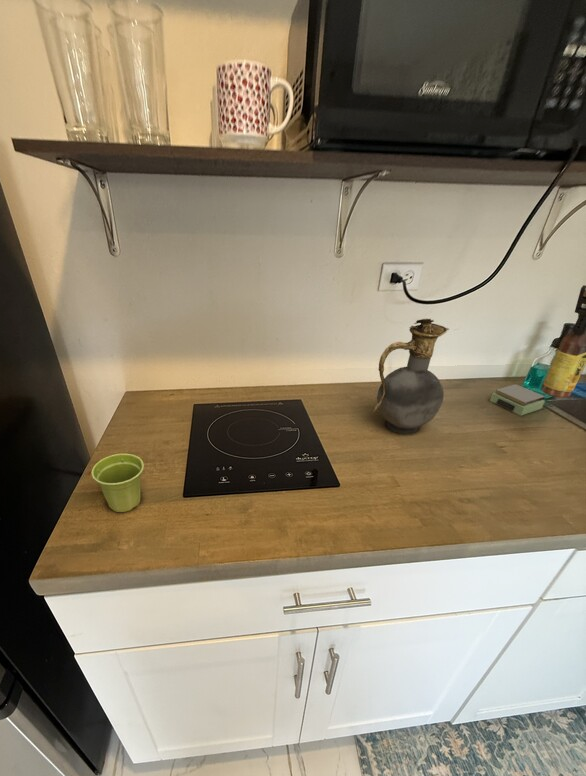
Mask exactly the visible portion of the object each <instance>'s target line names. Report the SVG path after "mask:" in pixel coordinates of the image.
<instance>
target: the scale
mask: <svg viewBox="0 0 586 776" xmlns="http://www.w3.org/2000/svg"><path fill="white" fill-rule="evenodd" d="M489 402H491V403H493V404H496V405H498V406H499V407H502V408H504V409H506V410H507V411H510V412H512V413H515V414H516V415H518V416H523V415H527V414H530V413H533V412H536V411H539V410H541V409H543V406H544V405H545V403H546V400H545V399H543V400H540V401H537V402H534V403H531V404H527V405H522V404H520V403H518V402H515V401H513V400H511V399H509V398H506V397H504V396H502V395H500V394H498V393H495V392H492V394H491V397H490V399H489Z"/></svg>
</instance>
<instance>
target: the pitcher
mask: <svg viewBox="0 0 586 776" xmlns="http://www.w3.org/2000/svg"><path fill="white" fill-rule="evenodd" d="M433 322H435V320H433V319H432V318H422V319H417V320H416V321H415V322H413V324H414V325H411V326H409V329H408V330H409V332H410V333H411V340H410V341H408V342H403V341H395V342H392V343H391V344H389V345H388V346H387V347H386V348H385V349H384V351H383V352H382V354H381V356H380V358H379V362H378V373H379V378H380V381H381V384H380V386H379V387H378V389H377V390H378V391H377V394H376V395H377V396H376V401H377V404H375V406H374V408H373V411H372V412H373V413H375V412H376V411H377V410H379V412H380V413H381V416H382V417H383V419H385V420H386V421H387V423H386V424H387V425H386V426H387V428H388V429H389V430H390V431H391V432H394V433H397V434H400V435H411V434H414V433H416V432H417V431H418V428H420V427H422V426H424V425H426V424H428V423H430V422H431V421H432V420H434V418H435V417H436V416H437V414H438V412H439V411H440V409H441V407H442V405H443V402H444V397H445V396H444V395H445V394H444V393H445V392H444V388H443V385H442V383H441V381H440V379H439V378H438V377H437V376H436V375H435V373H433V372H432V371H430V370H429V366H430V363H431V358H432V357H433V354H434V349H435V344H436V342H437V340H438V338H439V337H441V336H444V335H445V334H446V333H447V331H449V330H450V328H449V327H446V326H444V325H440V324H437V323H433ZM400 349H401V350H404V351H408V353H409V356H408V360H407V364H406V366H402V367H398V368H396V369H394V370H393V371H391V372H390V373H388V374H387V375H386V376H384V371H385V362H386V360H387V357H388V356H389V355H390V353H392V352H393V351H396V350H400Z"/></svg>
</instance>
